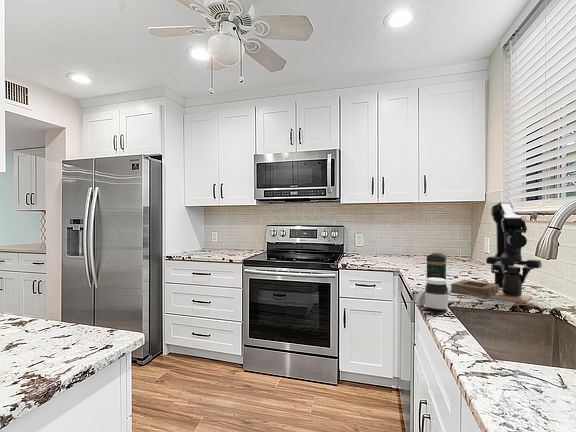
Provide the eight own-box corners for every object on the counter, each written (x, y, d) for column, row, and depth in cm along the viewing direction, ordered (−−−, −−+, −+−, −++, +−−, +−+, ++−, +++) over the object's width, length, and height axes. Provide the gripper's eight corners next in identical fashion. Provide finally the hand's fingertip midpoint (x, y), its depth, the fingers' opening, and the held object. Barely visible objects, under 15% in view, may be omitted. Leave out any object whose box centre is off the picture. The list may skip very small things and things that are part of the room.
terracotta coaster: (502, 293, 144) (502, 291, 144) (532, 298, 136) (532, 296, 136) (494, 297, 137) (494, 295, 137) (525, 302, 129) (525, 300, 129)
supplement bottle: (515, 292, 140) (517, 265, 139) (525, 297, 133) (527, 268, 133) (498, 291, 141) (500, 264, 140) (507, 296, 134) (510, 267, 133)
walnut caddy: (464, 286, 159) (463, 279, 159) (498, 291, 147) (498, 284, 147) (451, 291, 149) (451, 284, 149) (487, 297, 137) (487, 289, 137)
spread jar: (447, 315, 114) (446, 282, 114) (413, 310, 119) (413, 279, 119) (448, 306, 124) (448, 276, 124) (417, 303, 130) (417, 274, 130)
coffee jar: (444, 297, 138) (444, 254, 138) (425, 295, 143) (424, 253, 143) (447, 292, 146) (447, 252, 146) (429, 290, 151) (428, 251, 151)
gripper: (481, 245, 138) (482, 281, 139) (534, 248, 124) (535, 288, 124) (490, 244, 146) (490, 278, 146) (541, 246, 132) (542, 284, 132)
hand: (513, 282), depth 137 cm, fingers closed on supplement bottle, 7 cm apart
